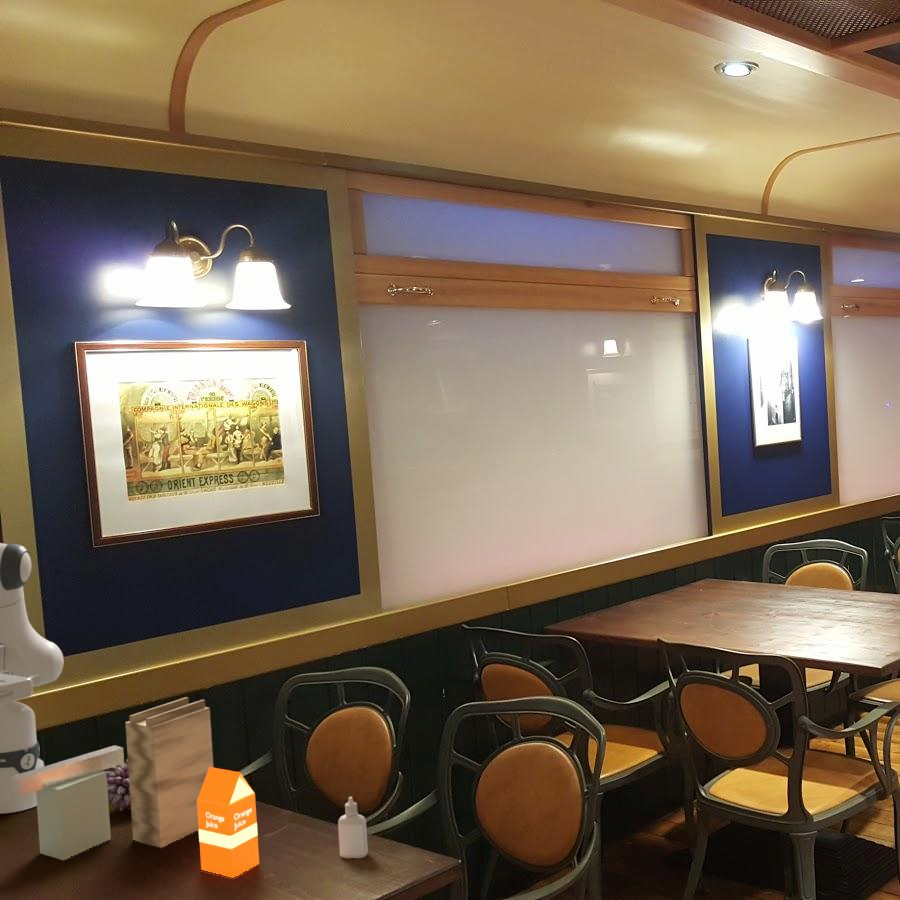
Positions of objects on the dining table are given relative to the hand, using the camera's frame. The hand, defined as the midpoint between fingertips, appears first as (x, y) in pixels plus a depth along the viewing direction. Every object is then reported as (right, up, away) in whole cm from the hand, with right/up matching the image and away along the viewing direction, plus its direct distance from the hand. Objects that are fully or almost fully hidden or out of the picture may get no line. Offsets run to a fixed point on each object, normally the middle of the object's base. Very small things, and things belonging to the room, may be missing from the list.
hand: (25, 676), depth 214 cm
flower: (+11, -39, +32) cm, 52 cm away
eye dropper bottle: (+67, -37, -1) cm, 77 cm away
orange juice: (+43, -38, -3) cm, 57 cm away
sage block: (+6, -39, +12) cm, 42 cm away
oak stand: (+26, -38, +18) cm, 49 cm away
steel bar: (+6, -23, +11) cm, 26 cm away
